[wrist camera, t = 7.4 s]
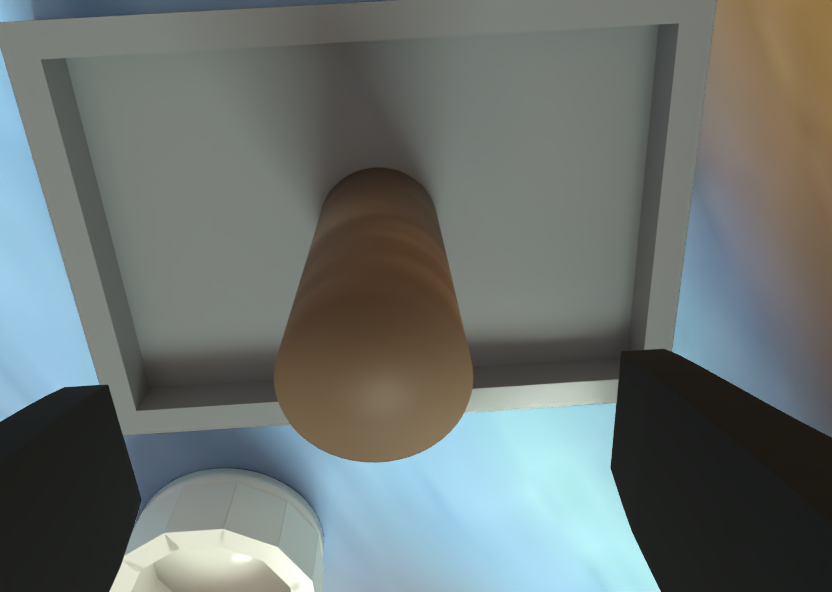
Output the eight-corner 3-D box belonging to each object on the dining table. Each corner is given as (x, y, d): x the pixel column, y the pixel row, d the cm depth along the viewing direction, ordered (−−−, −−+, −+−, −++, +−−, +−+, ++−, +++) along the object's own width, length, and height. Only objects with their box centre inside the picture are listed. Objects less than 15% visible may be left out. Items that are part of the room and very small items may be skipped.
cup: (312, 461, 22) (303, 523, 19) (333, 600, 24) (326, 670, 22) (119, 474, 22) (83, 538, 19) (159, 612, 24) (133, 684, 22)
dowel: (438, 167, 17) (477, 290, 10) (436, 279, 19) (470, 459, 11) (316, 167, 17) (264, 292, 10) (323, 280, 18) (282, 464, 11)
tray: (685, -17, 16) (719, -18, 15) (643, 367, 21) (665, 399, 19) (33, 20, 16) (-7, 22, 14) (135, 401, 20) (114, 435, 19)
